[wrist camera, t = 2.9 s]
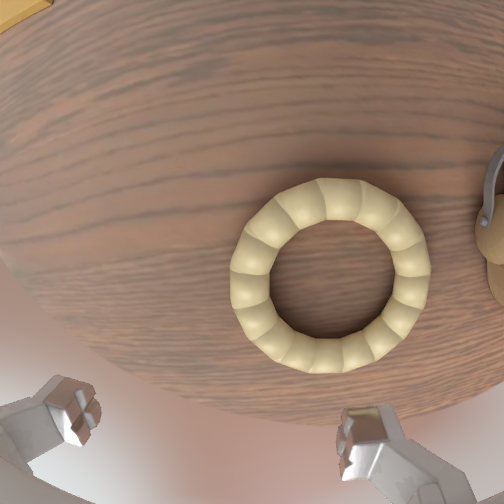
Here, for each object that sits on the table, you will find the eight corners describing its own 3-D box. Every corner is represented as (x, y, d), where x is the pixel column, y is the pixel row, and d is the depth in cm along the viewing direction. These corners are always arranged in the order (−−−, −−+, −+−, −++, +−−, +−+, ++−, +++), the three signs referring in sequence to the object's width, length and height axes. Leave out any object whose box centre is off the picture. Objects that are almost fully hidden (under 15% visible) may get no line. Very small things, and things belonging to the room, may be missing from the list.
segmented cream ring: (429, 184, 18) (446, 187, 15) (403, 357, 21) (413, 375, 19) (231, 176, 19) (224, 177, 16) (235, 357, 22) (230, 377, 20)
